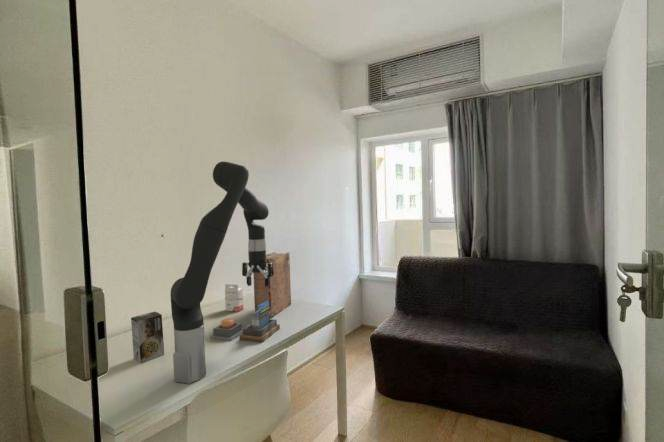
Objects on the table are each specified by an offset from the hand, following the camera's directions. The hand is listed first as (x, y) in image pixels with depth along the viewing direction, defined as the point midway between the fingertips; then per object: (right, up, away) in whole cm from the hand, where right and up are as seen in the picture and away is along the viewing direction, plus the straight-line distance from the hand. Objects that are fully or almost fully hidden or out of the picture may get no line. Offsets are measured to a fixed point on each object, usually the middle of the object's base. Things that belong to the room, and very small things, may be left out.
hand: (258, 285), depth 153 cm
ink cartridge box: (-21, -21, +38) cm, 48 cm away
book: (+1, -20, +35) cm, 41 cm away
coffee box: (-38, -24, -19) cm, 49 cm away
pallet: (+1, -22, +1) cm, 22 cm away
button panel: (-14, -22, +1) cm, 26 cm away
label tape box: (+1, -20, +1) cm, 20 cm away
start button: (-14, -19, +1) cm, 23 cm away
